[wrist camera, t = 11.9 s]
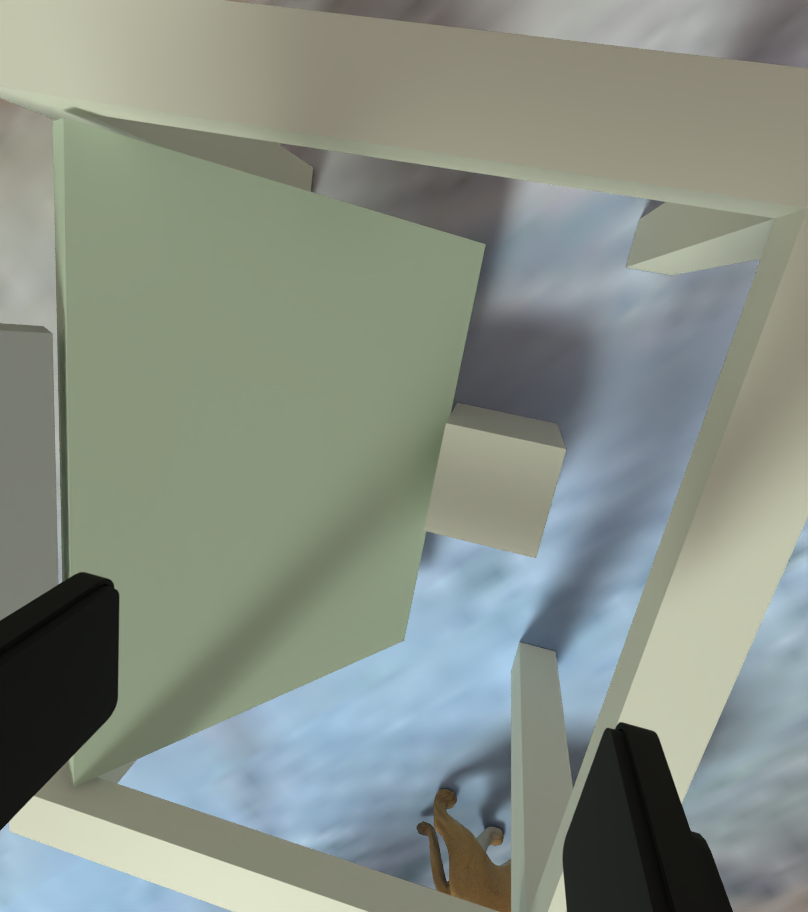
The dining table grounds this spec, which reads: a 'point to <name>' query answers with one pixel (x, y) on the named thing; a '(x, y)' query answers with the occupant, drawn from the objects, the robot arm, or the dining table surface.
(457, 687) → the dining table surface
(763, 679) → the dining table surface
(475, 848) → the lion figurine
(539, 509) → the stone block
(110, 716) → the robot arm
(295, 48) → the trapdoor frame
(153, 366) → the trapdoor plate
